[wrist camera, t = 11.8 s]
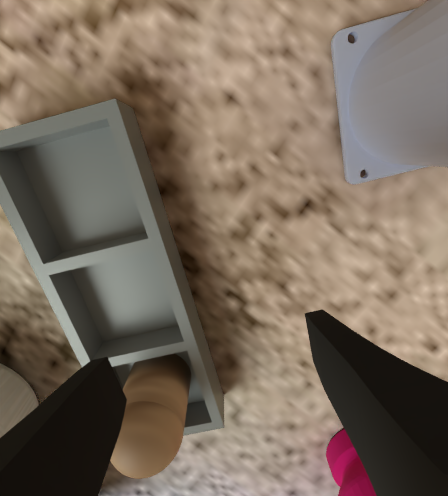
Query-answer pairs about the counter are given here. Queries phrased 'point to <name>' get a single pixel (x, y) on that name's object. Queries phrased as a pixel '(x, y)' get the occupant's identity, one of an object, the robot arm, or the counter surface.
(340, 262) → the counter surface
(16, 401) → the ramekin
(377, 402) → the robot arm
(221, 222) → the counter surface
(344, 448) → the pepper mill
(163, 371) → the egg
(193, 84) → the counter surface
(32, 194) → the tray
